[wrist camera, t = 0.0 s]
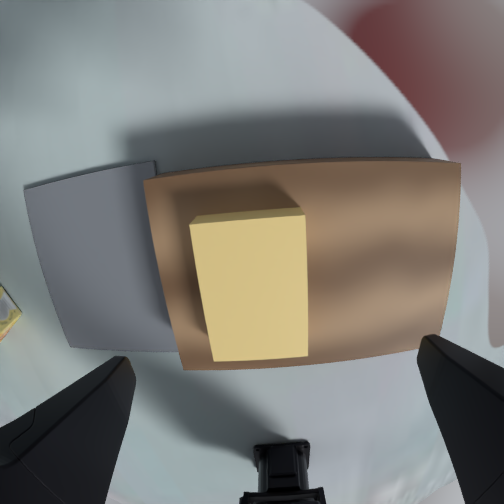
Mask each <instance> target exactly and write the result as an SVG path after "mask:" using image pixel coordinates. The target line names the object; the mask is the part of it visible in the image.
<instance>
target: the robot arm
mask: <svg viewBox="0 0 504 504" xmlns="http://www.w3.org/2000/svg"><path fill="white" fill-rule="evenodd" d="M417 364H418V367H419V371H420V374H421V377H422V380H423V384H424V387H425V390H426V394H427V397H428V400H429V403H430V406H431V408H432V411H433V413H434V416H435V418H436V421H437V423H438V426H439V428H440V431H441V434H442V436H443V439H444V442H445V444H446V447H447V450H448V453H449V455H450V458H451V461H452V464H453V467H454V470H455V473H456V476H457V479H458V482H459V485H460V488H461V491H462V495H463V498H464V501H465V504H504V368H502V367H500V366H498V365H496V364H494V363H492V362H490V361H488V360H486V359H484V358H482V357H480V356H478V355H476V354H474V353H472V352H470V351H468V350H466V349H464V348H462V347H460V346H458V345H456V344H454V343H452V342H450V341H448V340H446V339H444V338H442V337H440V336H438V335H436V334H430V335H425V336H423V337H422V339H421V343H420V347H419V351H418V355H417ZM135 386H136V376H135V373H134V371H133V368H132V366H131V363H130V361H129V359H128V358H127V357H125V356H114V357H113V358H111V359H110V360H108V361H107V362H105V363H104V364H102V365H100V366H99V367H97V368H96V369H94V370H93V371H91V372H90V373H88V374H87V375H85V376H83V377H82V378H80V379H79V380H77V381H76V382H74V383H73V384H71V385H69V386H68V387H66V388H65V389H63V390H62V391H60V392H59V393H57V394H55V395H54V396H52V397H51V398H49V399H48V400H46V401H44V402H43V403H41V404H40V405H38V406H37V407H36V408H33V409H32V410H30V411H29V412H27V413H26V414H24V415H22V416H21V417H19V418H17V419H16V420H14V421H12V422H10V423H8V424H6V425H4V426H3V427H1V428H0V504H105V501H106V497H107V493H108V490H109V486H110V482H111V479H112V475H113V472H114V468H115V465H116V461H117V458H118V454H119V451H120V447H121V444H122V441H123V438H124V434H125V431H126V428H127V424H128V420H129V416H130V411H131V405H132V400H133V395H134V390H135ZM309 455H310V443H309V442H301V443H289V444H274V445H256V446H254V456H255V461H256V467H257V472H259V475H258V492H244V496H243V497H241V498H240V501H239V504H326V500H325V495H324V490H323V487H319V488H316V489H309V484H308V473H307V469H308V467H309Z"/></svg>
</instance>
